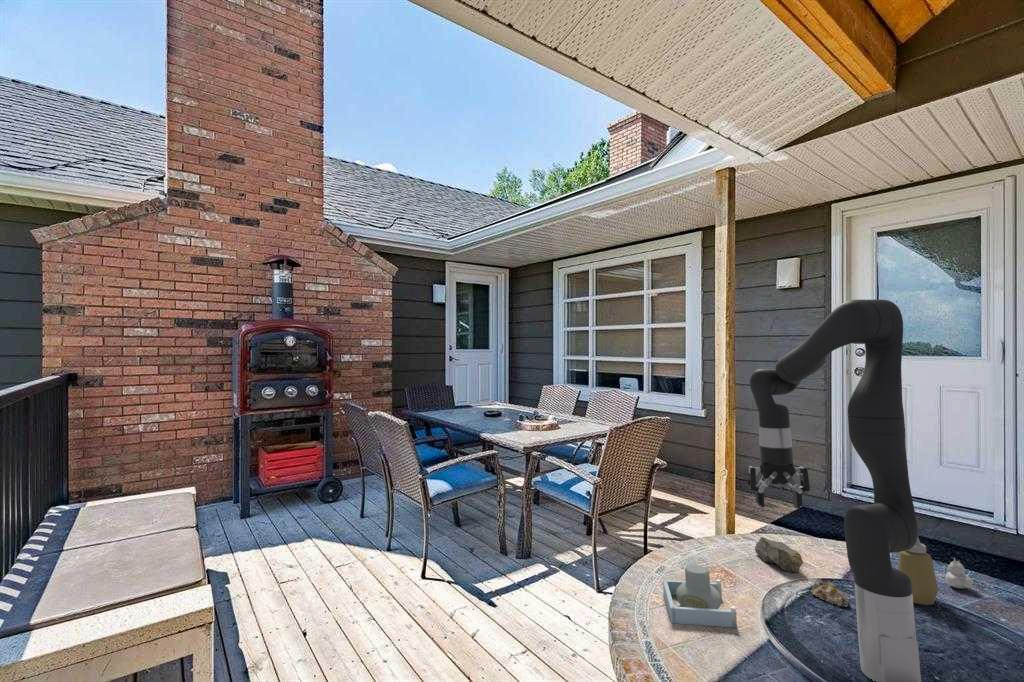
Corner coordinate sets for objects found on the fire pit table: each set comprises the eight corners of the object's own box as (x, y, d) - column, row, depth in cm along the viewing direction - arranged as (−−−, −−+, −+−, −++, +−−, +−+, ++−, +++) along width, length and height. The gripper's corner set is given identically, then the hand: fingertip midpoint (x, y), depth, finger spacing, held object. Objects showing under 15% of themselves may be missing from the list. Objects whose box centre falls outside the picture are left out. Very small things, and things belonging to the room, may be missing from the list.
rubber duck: (957, 582, 132) (954, 553, 133) (982, 593, 126) (979, 562, 126) (939, 583, 132) (936, 554, 132) (963, 594, 125) (960, 563, 126)
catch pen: (737, 627, 112) (736, 608, 113) (671, 622, 115) (670, 604, 115) (720, 596, 128) (720, 579, 128) (663, 592, 131) (662, 576, 131)
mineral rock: (800, 581, 131) (828, 572, 131) (805, 596, 131) (832, 587, 131) (827, 601, 120) (856, 592, 120) (832, 618, 120) (862, 608, 120)
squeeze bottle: (898, 590, 128) (893, 523, 130) (938, 598, 123) (932, 528, 125) (898, 602, 122) (893, 531, 123) (940, 611, 117) (934, 537, 118)
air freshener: (725, 607, 122) (722, 567, 123) (718, 621, 115) (715, 579, 116) (681, 597, 128) (680, 559, 129) (672, 610, 121) (671, 570, 122)
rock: (815, 556, 142) (789, 551, 139) (811, 579, 141) (785, 574, 139) (771, 536, 158) (746, 531, 156) (767, 556, 157) (743, 551, 155)
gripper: (751, 446, 122) (755, 510, 121) (811, 446, 119) (815, 512, 118) (742, 442, 129) (745, 502, 128) (798, 442, 126) (802, 503, 125)
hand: (779, 507), depth 123 cm, fingers open, 8 cm apart
